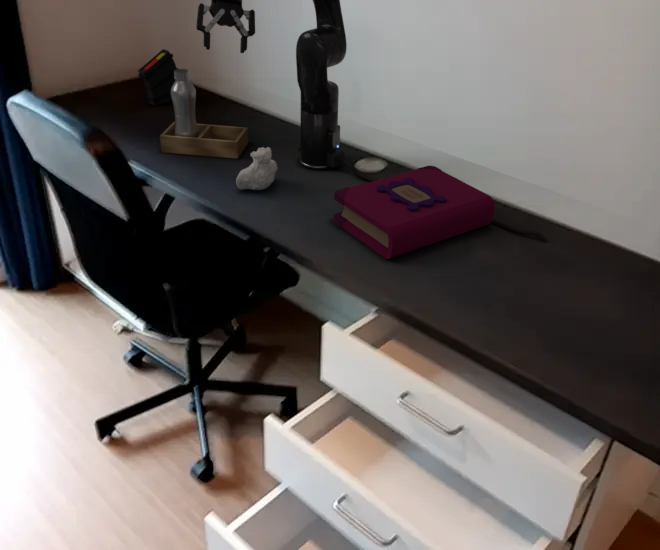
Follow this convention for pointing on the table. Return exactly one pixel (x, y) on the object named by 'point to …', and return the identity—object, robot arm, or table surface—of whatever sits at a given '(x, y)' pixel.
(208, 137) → the brown open rectangular box
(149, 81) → the magazine
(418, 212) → the book
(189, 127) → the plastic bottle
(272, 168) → the bust
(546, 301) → the table surface
